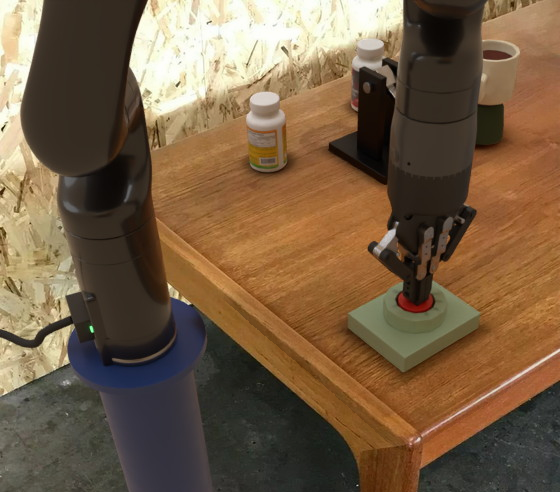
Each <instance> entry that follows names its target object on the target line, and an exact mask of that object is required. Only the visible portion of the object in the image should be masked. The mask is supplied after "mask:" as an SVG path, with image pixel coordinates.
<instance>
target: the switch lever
mask: <svg viewBox="0 0 560 492" xmlns="http://www.w3.org/2000/svg"><path fill="white" fill-rule="evenodd" d="M375 72H377V73H379V74H381V75H383V76H385V77H387V85H386V95H387V96H388V97H389V99H390V100H391V101H392V103H393V104H394V106H395V98H396V88H395V87H396V82H397V77H396V76H395V74H394V73H393V72H392V70H391V69H390V67H389V66H388V65H385V66H383V67H380V68H378V69H375Z"/></svg>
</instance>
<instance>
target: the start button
mask: <svg viewBox="0 0 560 492" xmlns="http://www.w3.org/2000/svg"><path fill="white" fill-rule="evenodd" d="M432 303H433V299H432V296H431V295H430V294H429V299H428V300H427V301H425V302H423V303H422V304H420V305H418V306H416V305H414V304H413V303H412V302H410V301H409V300H408V299H406V298H405V297H403V294H402V293H401V294H400V295H399V298H398V307H400V308H401V309H402V310H404V311H407V312H411V313H424V312H427V311H428V310H430V309H432Z"/></svg>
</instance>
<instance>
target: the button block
mask: <svg viewBox="0 0 560 492" xmlns="http://www.w3.org/2000/svg"><path fill="white" fill-rule="evenodd" d="M402 292H403V281H400V282H398V283H396V284H394V285H392V286H390V287H389V288H388V289H387V291H386V292H385V293H382V294H380V295H379V296H377V297H375V298H373V299H371V300H370V301H367V302H366V303H364V304H362V305H360V306H358V307H357V308H355V309H353V310H351V311H349V312H348V313H347V329H348V330H349V331H351V332H352V333H353V334H354V335H356V336H357V337H358V338H359V339H361V340H362V341H363V342H364V343H365V344H367V345H368V346H369V347H370V348H371V349H373V350H374V351H376V353H378V354H379V355H381V357H383V358H384V359H385V360H387V361H388V362H389V363H391V364H392V365H393V366H394V367H395V368H397V369H398V370H399V371H400V372H402V373H406V372H408V371H409V370H411V369H413V368H414V367H416V366H417V365H420V364H421V363H422V362H424V361H426V360H427V359H429V358H431V357H432V356H434V355H436V354H437V353H439V352H441V351H443V350H444V349H446V348H447V347H449V346H451V345H453V344H454V343H456V342H458V341H459V340H461V339H463V338H465V337H466V336H468V335H469V334H471V333H472V332H475V330H477V329H479V325H480V320H481V314H482V313H481V312H480V311H478V310H477V309H475V308H474V307H472V306H471V305H470V304H468V303H467V302H465V301H464V300H462V299H461V298H460V297H458V296H456V294H454V293H452V292H451V291H450V290H448V289H446V288H445V287H444V286H442V285H441V284H439V283H438V282H436V281H435V280H433V281H432V289H431V292H430V295H431V296H432V299H433V303H432V309H430V310H428V311H427V312H424V313H411V312H407V311H404V310H402V309H401V308H400V307H398V298H399V295H400V294H401V293H402Z"/></svg>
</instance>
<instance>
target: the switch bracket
mask: <svg viewBox="0 0 560 492" xmlns="http://www.w3.org/2000/svg"><path fill="white" fill-rule="evenodd" d="M385 65H388V66H389V67H390V69H391V70H392V72H393V73H394V74H395V76H396V77H397V68H398V61H397V60H394V59H392V58H390V57H388V56H387V57H386V58H384V59H382V67H383V66H385ZM386 85H387V77H385V76H383V75H381V74H379V73H377V72H375V71H373V70H371V69H369V68H367V67H365V66H364V67H361V68H359V89H358V112H357V124H356V126H357V127H356V128H357V129H356V130H355V131H353V132H351V133H348V134H346V135H344V136H341V137H339V138H337V139H334V140H332V141H329V142H328V151H329V152H330V153H333V154H334V155H335V156H337V157H339V158H340V159H342V160H344V161H345V162H347V163H348V164H350V165H352V166H354V167H355V168H357V169H358V170H360V171H361V172H363V173H365V174H367V175H368V176H369V177H371V178H373V180H376V181H378V182H379V183H381V184H382V185H387V183H388V167H389V150H390V132H391V124H392V119H393V114H394V109H395V106H394V104H393V103H392V101H391V100H390V99H389V97H388V96H387V95H386ZM395 88H396V87H395Z"/></svg>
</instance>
